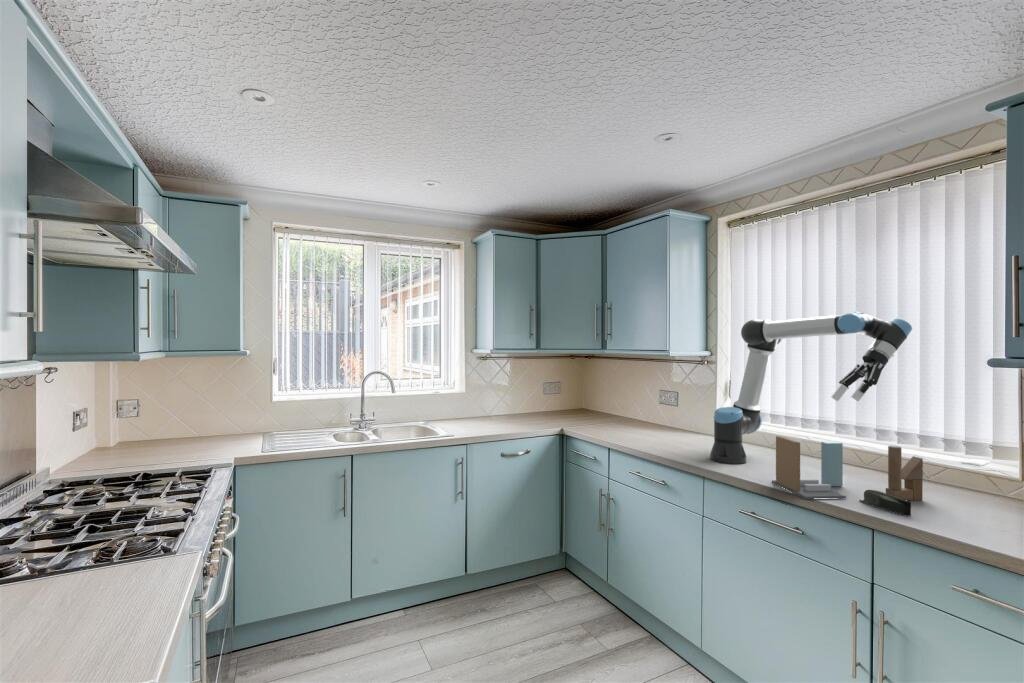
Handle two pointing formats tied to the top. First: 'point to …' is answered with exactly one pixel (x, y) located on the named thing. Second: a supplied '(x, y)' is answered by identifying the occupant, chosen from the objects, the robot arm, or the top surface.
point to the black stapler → (887, 502)
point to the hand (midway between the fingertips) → (844, 399)
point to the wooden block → (904, 476)
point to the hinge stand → (797, 473)
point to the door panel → (832, 463)
